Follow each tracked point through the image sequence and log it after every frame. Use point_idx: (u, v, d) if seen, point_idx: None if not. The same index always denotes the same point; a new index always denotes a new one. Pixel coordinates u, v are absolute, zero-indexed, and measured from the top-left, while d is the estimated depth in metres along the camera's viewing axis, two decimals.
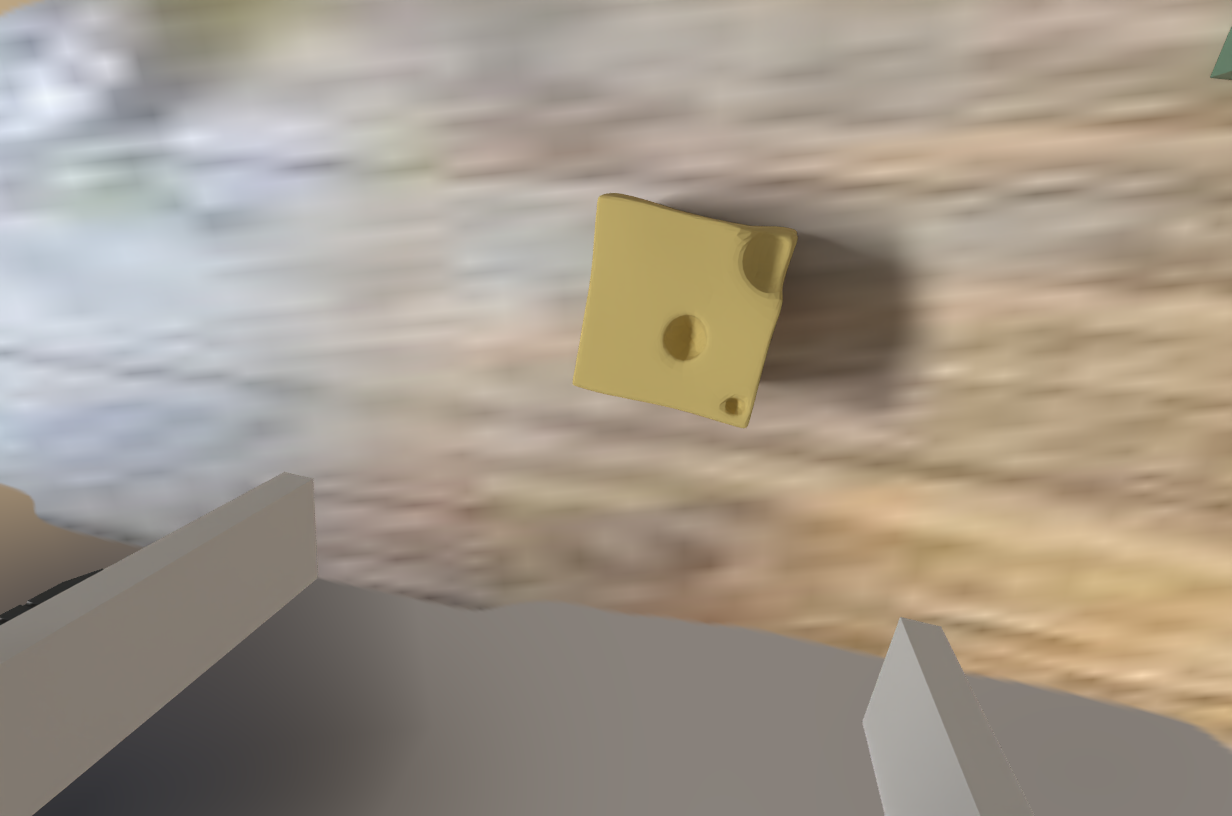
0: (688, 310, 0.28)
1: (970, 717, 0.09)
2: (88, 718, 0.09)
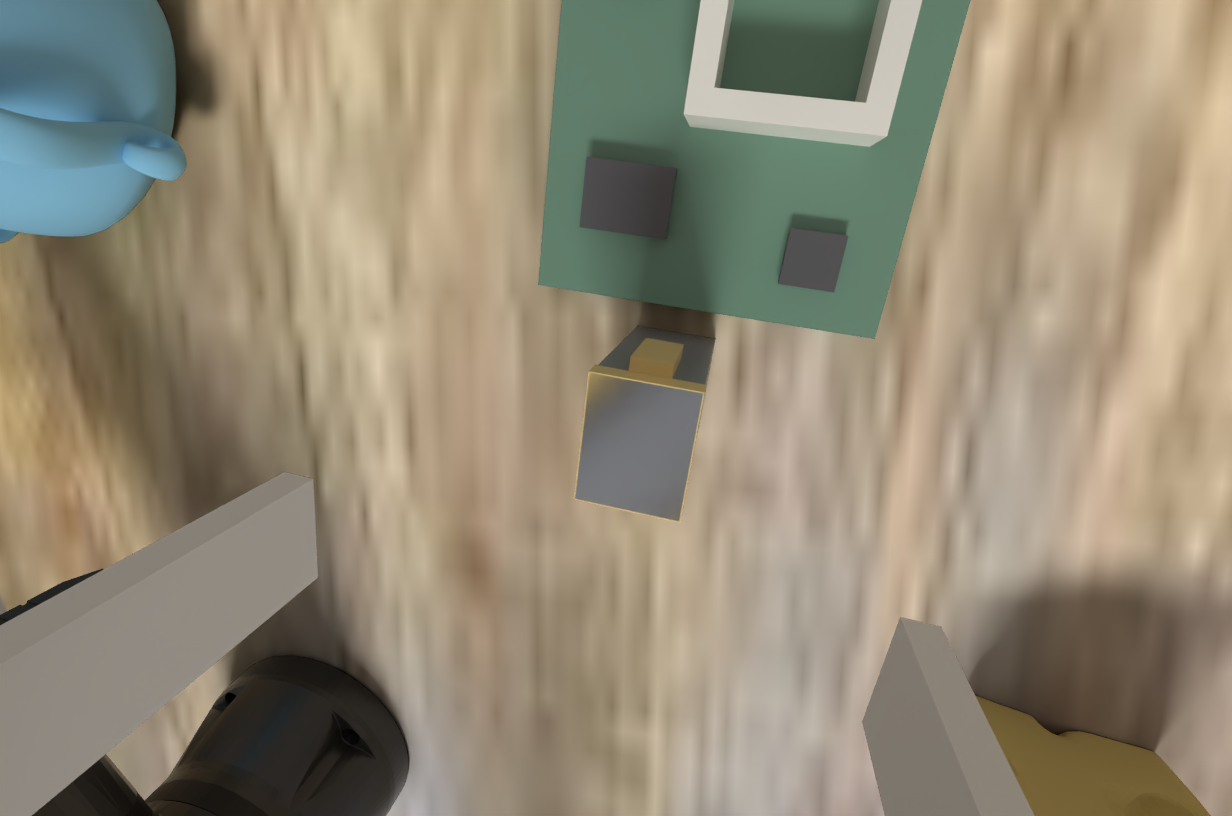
0: None
1: (970, 717, 0.09)
2: (88, 718, 0.09)
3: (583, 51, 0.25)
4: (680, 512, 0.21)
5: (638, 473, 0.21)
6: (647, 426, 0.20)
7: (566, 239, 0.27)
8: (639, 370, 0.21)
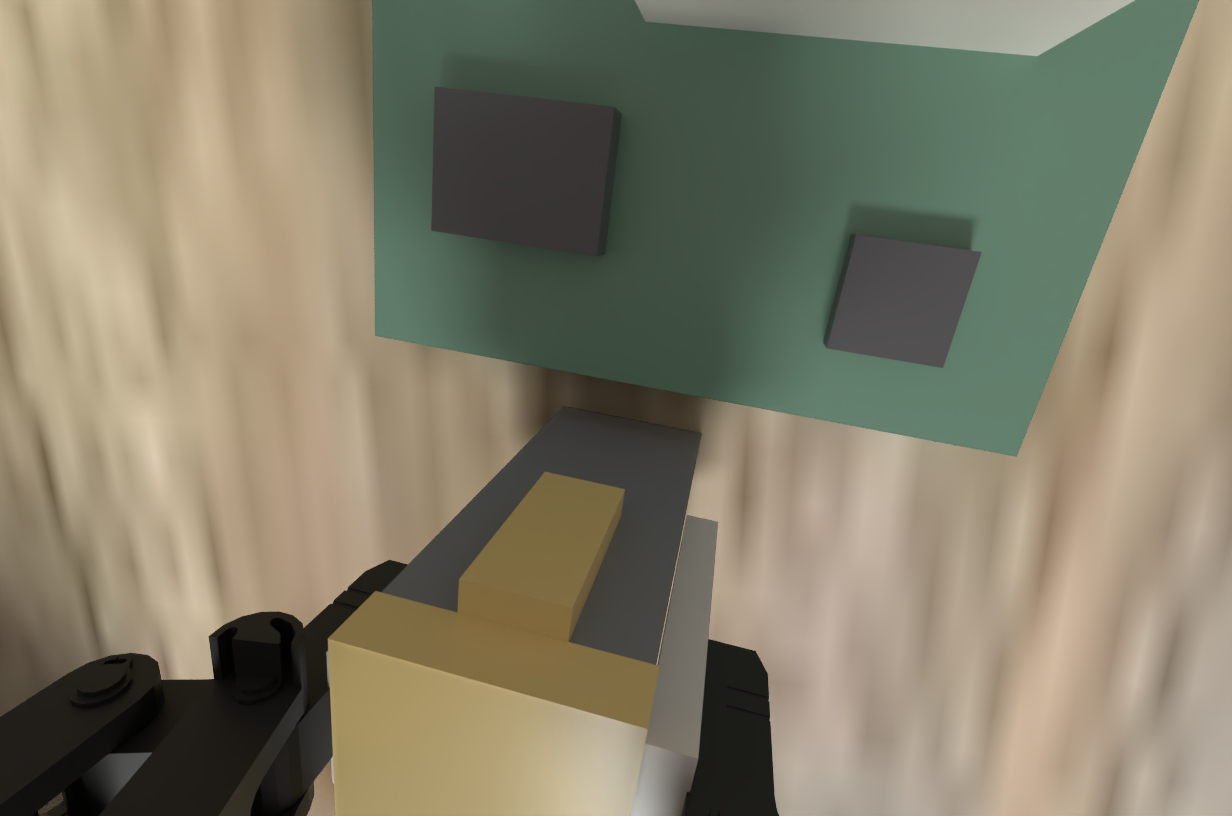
0: None
1: (701, 573, 0.12)
2: None
3: None
4: None
5: None
6: (495, 785, 0.07)
7: (418, 253, 0.14)
8: (484, 614, 0.08)
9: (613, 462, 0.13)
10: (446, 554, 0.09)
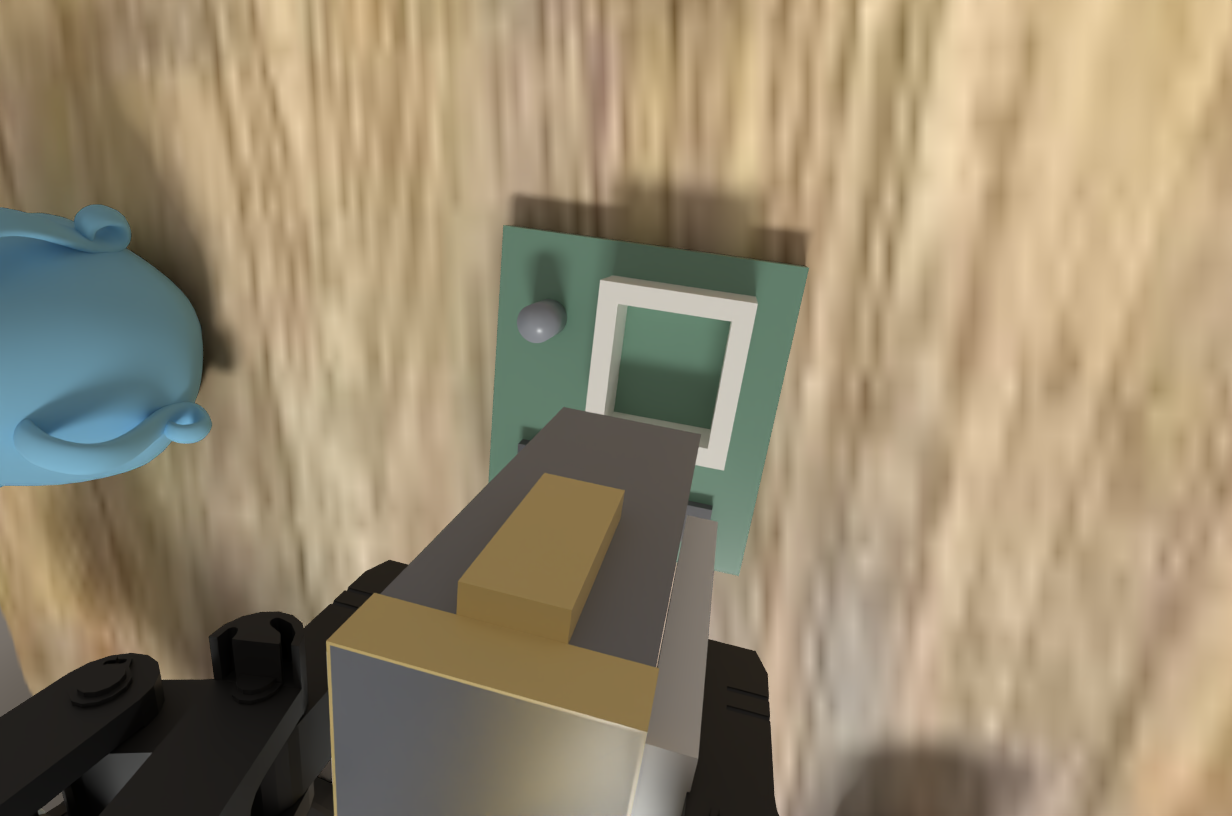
0: None
1: (700, 572, 0.12)
2: None
3: (514, 368, 0.33)
4: None
5: None
6: (494, 788, 0.07)
7: None
8: (483, 616, 0.08)
9: (613, 463, 0.13)
10: (445, 556, 0.09)
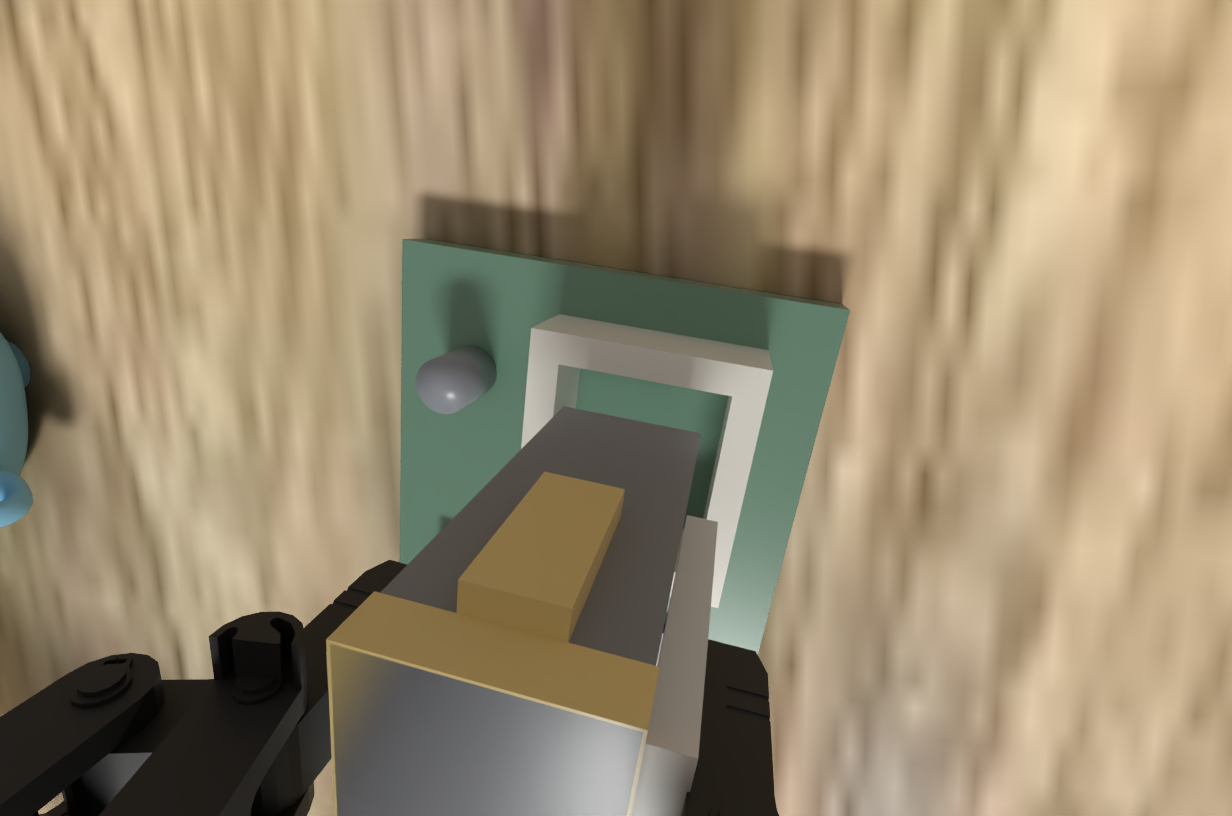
0: None
1: (700, 573, 0.12)
2: None
3: (426, 439, 0.23)
4: None
5: None
6: (494, 786, 0.07)
7: None
8: (483, 614, 0.08)
9: (613, 463, 0.13)
10: (445, 554, 0.09)
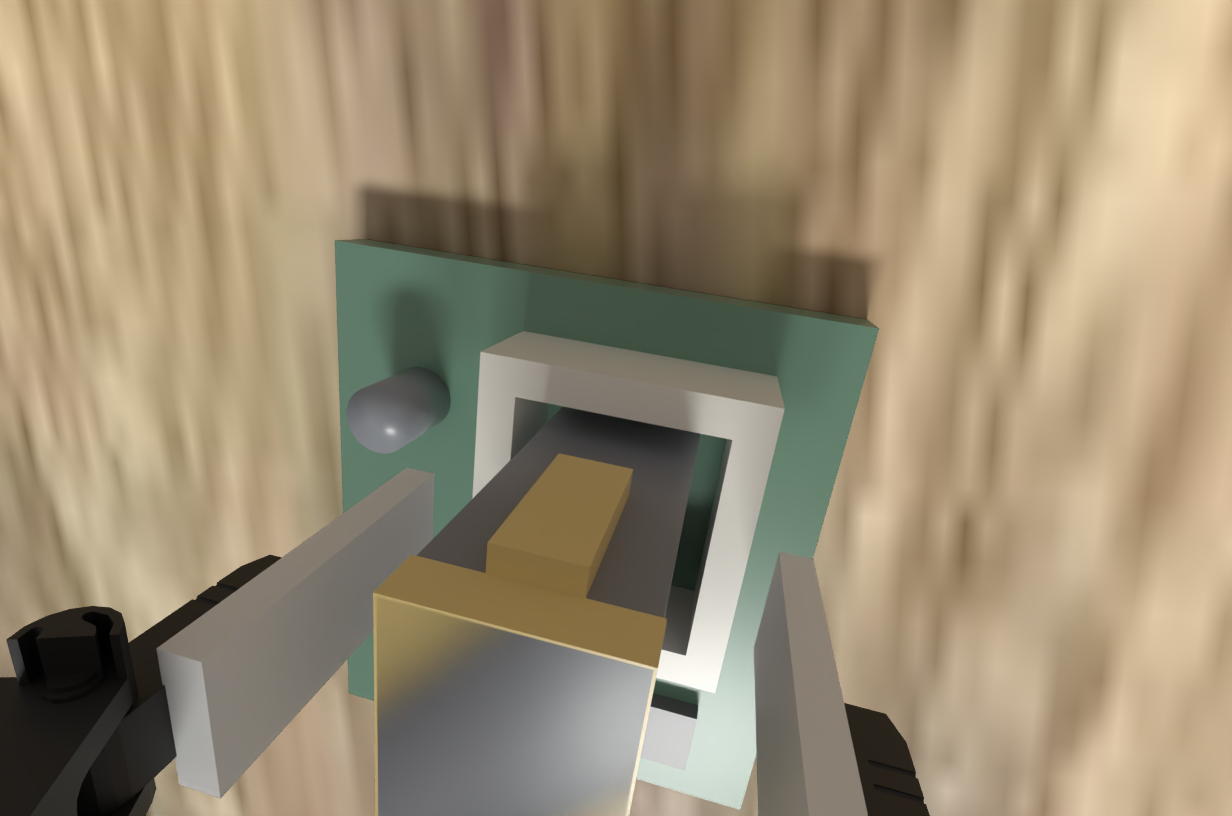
0: None
1: (813, 622, 0.11)
2: (283, 687, 0.10)
3: (371, 476, 0.20)
4: None
5: (507, 813, 0.09)
6: (521, 724, 0.08)
7: None
8: (510, 574, 0.09)
9: (621, 447, 0.14)
10: (471, 525, 0.10)
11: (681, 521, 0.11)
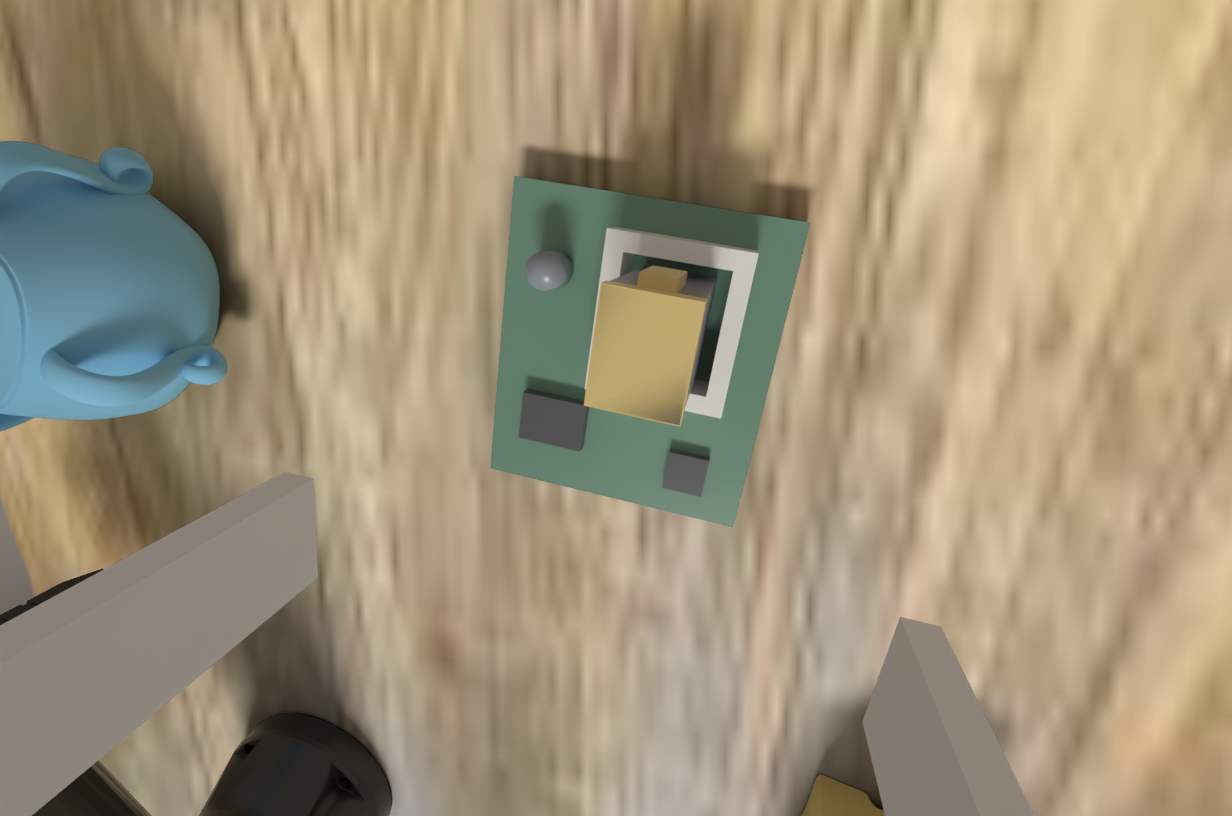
0: None
1: (970, 717, 0.09)
2: (88, 718, 0.09)
3: (521, 318, 0.34)
4: (680, 416, 0.23)
5: (643, 379, 0.23)
6: (652, 335, 0.22)
7: (511, 439, 0.36)
8: (646, 285, 0.23)
9: None
10: (623, 280, 0.24)
11: (709, 291, 0.25)
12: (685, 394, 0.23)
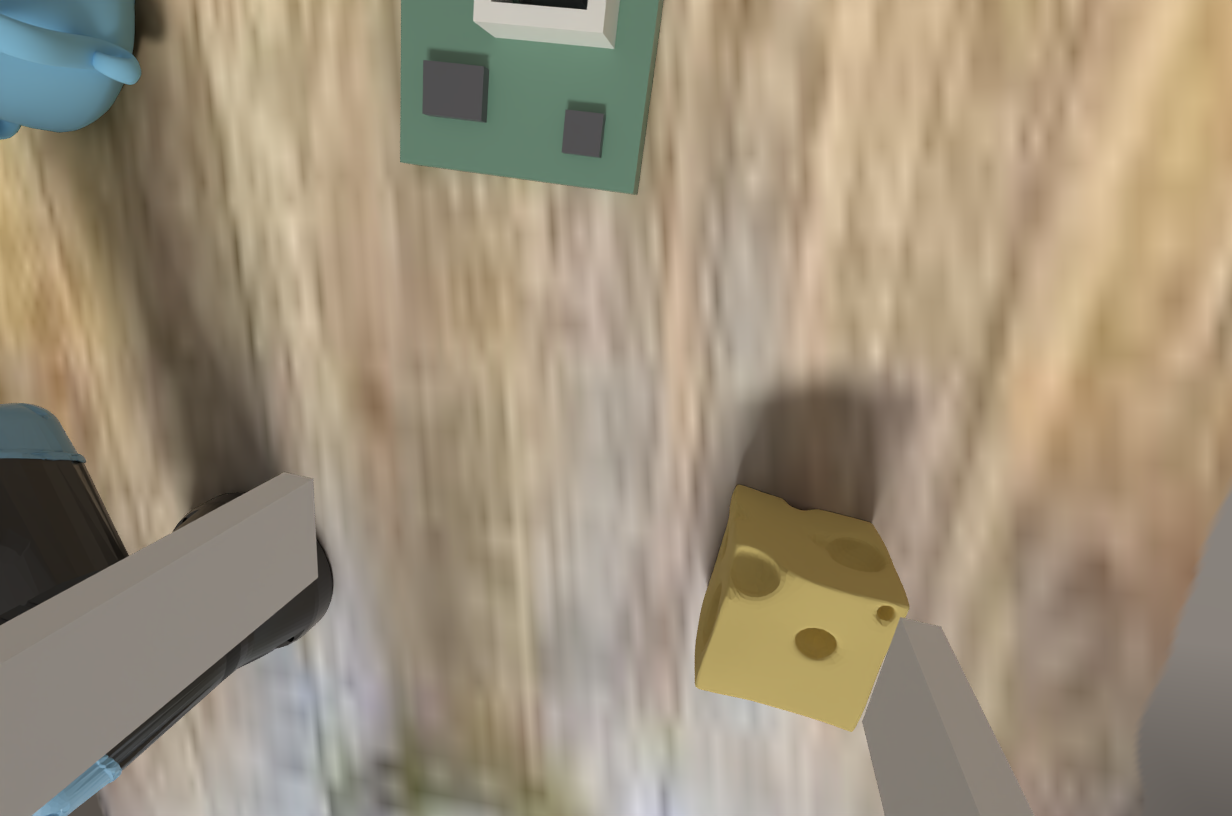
0: (790, 639, 0.34)
1: (970, 717, 0.09)
2: (88, 718, 0.09)
3: None
4: None
5: None
6: None
7: (417, 125, 0.37)
8: None
9: None
10: None
11: None
12: None
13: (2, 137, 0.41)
